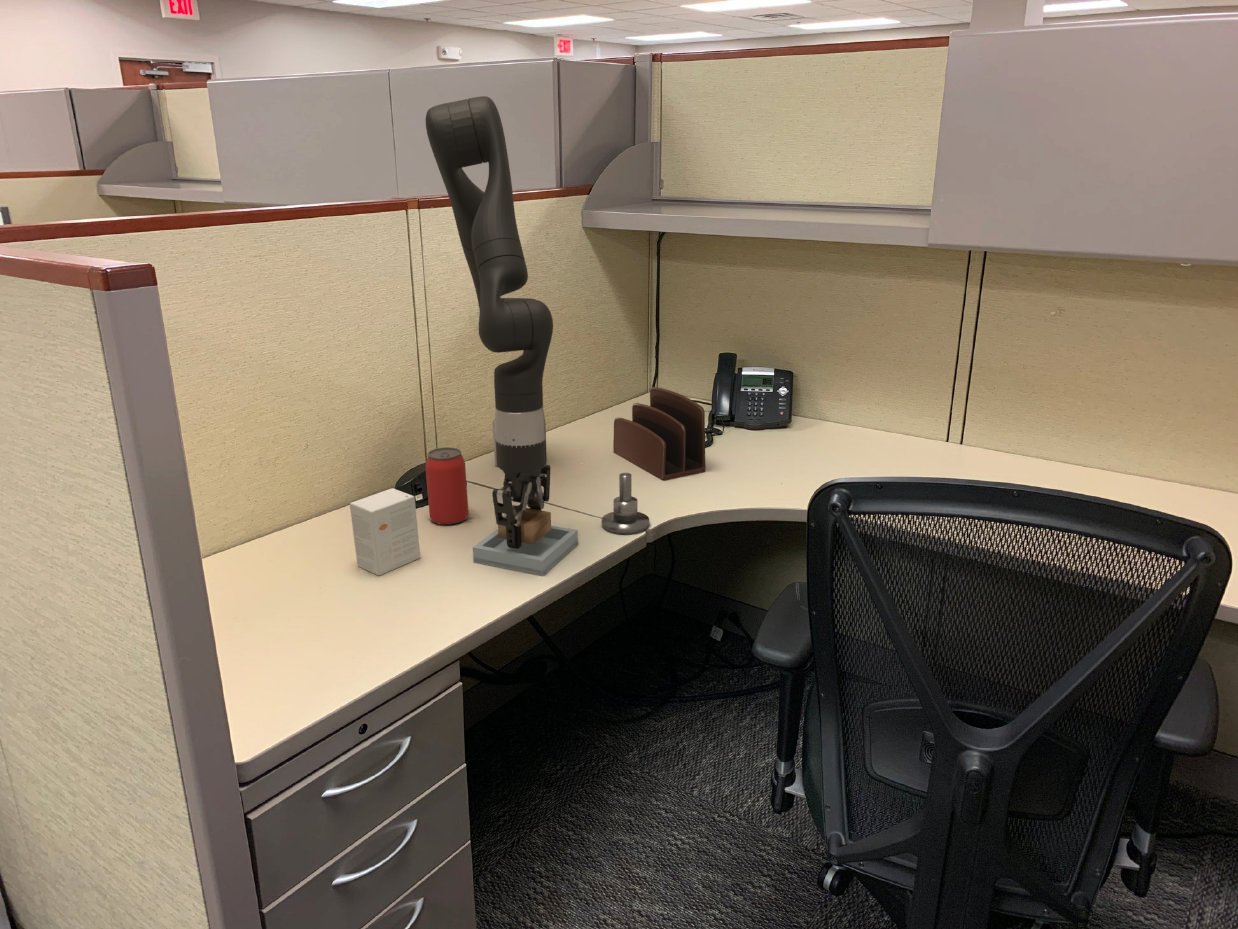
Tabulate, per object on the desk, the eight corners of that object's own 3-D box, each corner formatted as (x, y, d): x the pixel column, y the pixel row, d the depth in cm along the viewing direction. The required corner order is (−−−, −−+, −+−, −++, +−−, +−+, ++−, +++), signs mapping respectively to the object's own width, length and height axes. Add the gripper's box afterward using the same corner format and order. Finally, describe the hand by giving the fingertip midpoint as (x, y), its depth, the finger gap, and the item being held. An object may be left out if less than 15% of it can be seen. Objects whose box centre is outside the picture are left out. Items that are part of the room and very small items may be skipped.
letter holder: (653, 445, 187) (653, 381, 182) (706, 472, 171) (708, 403, 166) (612, 453, 182) (611, 387, 178) (662, 482, 166) (663, 410, 161)
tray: (473, 562, 133) (472, 547, 132) (512, 532, 144) (512, 518, 143) (543, 575, 129) (542, 560, 128) (578, 544, 139) (577, 530, 138)
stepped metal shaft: (593, 530, 144) (593, 479, 141) (613, 512, 151) (612, 464, 148) (638, 537, 141) (638, 486, 138) (656, 519, 148) (656, 470, 145)
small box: (399, 549, 138) (392, 487, 134) (421, 558, 135) (415, 495, 131) (355, 566, 132) (348, 502, 129) (378, 577, 129) (371, 511, 125)
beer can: (431, 528, 145) (425, 460, 141) (428, 513, 151) (423, 448, 147) (470, 523, 147) (466, 456, 143) (466, 509, 153) (462, 444, 149)
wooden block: (532, 544, 131) (532, 526, 130) (498, 538, 133) (497, 519, 132) (551, 529, 136) (550, 512, 135) (517, 523, 138) (517, 506, 138)
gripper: (518, 453, 122) (523, 561, 127) (564, 425, 134) (567, 526, 140) (472, 446, 125) (479, 553, 130) (522, 420, 137) (526, 519, 143)
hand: (525, 538), depth 135 cm, fingers closed on wooden block, 6 cm apart
